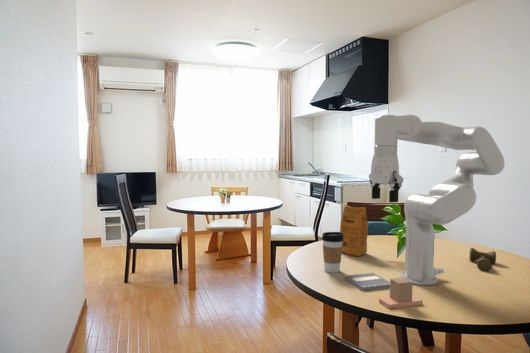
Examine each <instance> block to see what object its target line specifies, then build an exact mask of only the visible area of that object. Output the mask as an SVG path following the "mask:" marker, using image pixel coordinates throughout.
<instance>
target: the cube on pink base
mask: <svg viewBox="0 0 530 353" xmlns="http://www.w3.org/2000/svg"><path fill="white" fill-rule="evenodd" d="M389 282H390V288H389V296H386V297H380V298H378V302H379V303H380V304H381V305H382V306H384V307H386V308H387V309H397V308H405V307H411V306H419V305H423V301H424V300H422V299H421V298H419V297H417V296H415V295H414V294H413V286H414V284H413V282H412V281H410V280H408V279H406V278H404V277H403V278H400V277H395V278H390V280H389Z"/></svg>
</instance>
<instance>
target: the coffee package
mask: <svg viewBox="0 0 530 353" xmlns="http://www.w3.org/2000/svg"><path fill="white" fill-rule="evenodd" d="M342 211H343V212H342V217H341V222H340V225H339V226H340V229H339V232H341V233H343V238H344V239H343V241H342V254H347V256H354V257H360V256H362V255H364V254H366V253H368V242H367V240H368V231H369V230H368V228H369V223H368V217H367V213H366V212H367V208H366V207H356V206H355V207H353V206H350V205H346V204H345V205H344V208H343V210H342Z"/></svg>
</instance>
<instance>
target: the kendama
mask: <svg viewBox="0 0 530 353" xmlns="http://www.w3.org/2000/svg"><path fill="white" fill-rule="evenodd" d="M471 261H472V262H474V261H477V262H476V266H477V268H478V270H479V271H481V270H482V271H481V272H490V271H491V270H492V269H493V265H496V261H497V252H496V251H493V250H492V251H490V252H483V251H478V250H476V249H475V248H473V247H470V250H469V262H471Z"/></svg>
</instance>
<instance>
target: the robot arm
mask: <svg viewBox="0 0 530 353" xmlns="http://www.w3.org/2000/svg"><path fill="white" fill-rule="evenodd" d="M398 140H399V141H405V142H411V143H418V144H422V145H431V146H436V147H441V148H446V149H451V150H454V151H455V150H456V151H469V152H465V153H462V154H461V155H460V156H459V157H458V158H457V160H456V163H455V172H454V174H453V175H452V176H451V177H449V178H447V179H445V180H443V181H441V182H440V183H438V184H435V186H433V187H432V188H431V189H430V191H429V192H428V194H423V193H415V194H414V193H413V194H412V195H410V196H408V197H407V198H406V199H405V201H404V204H403V205H404V207H403V210H404V217H405V225H406V226H405V227H406V230H405V231H406V232H405V233H406V234H405V257H404V258H405V260H404V271H401V273H400V276H399V278H403V277H404V278H406V279H408V280H410V281H412V282H413V285H418V286H433V285H437V284H438V280H439V279H438V278H437V277H436V276H437V274H438V275H441V274H444V269H443V267H441V268H440V267H439V268H436V267H434V260H435V258H434V256H435V254H434V253H435V235H436V234H435V229H434V226H433V225H439V226H442V225H447V224H450V223H451V222H453V221H455V220H457V219H458V218H460V217H462V216H463V215H465V214H467V213H469V211H471V210H472V208H473V207H475V204H476V202H477V193H476V191H475V189H474V188H475V187H474V185H475V183H474V175H478V176H479V175H480V176H496V175H499V174H500V173H502V171H503V170H504V168H505V159H504V156H503V154H502V152H501V149H500V148H499V146H498V145H497V142H496V140H495V139H494V137H493V136H492V134H491V133H490V132H489V131H488V130H487V129H486V128H485V127H482V126H468V127H462V126H457V125H453V124H449V123H445V122H442V121H422V120H421V118H420V117H419V116H417V115H414V114H404V115H396V114H379V115H377V116H376V117H375V118H374V144H373V146H374V152H373V155H372V158H371V159H372V160H371V165H370V166H371V167H370V173H369V175H368V178H369V184H370V187H371V199H372V200H379V199H381V187H380V186H381V185H388V186H389V189H390V190H389V191H388V192H389V193H388V194H389V195H388V199H389V200H388V201H389V203H398V202H399V191H400V190H401V187H402V186H403V185H402V184H403V182H404V177H403V176H402V175H401V174H400V166H399V165H400V164H399V156H398Z"/></svg>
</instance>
